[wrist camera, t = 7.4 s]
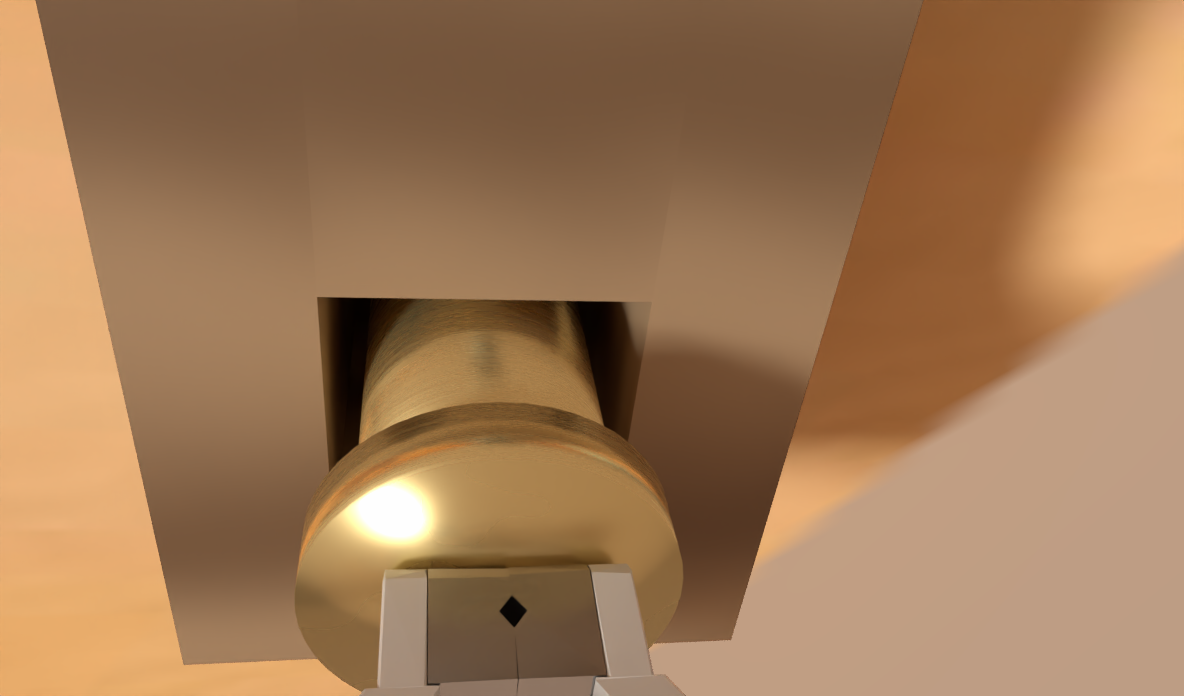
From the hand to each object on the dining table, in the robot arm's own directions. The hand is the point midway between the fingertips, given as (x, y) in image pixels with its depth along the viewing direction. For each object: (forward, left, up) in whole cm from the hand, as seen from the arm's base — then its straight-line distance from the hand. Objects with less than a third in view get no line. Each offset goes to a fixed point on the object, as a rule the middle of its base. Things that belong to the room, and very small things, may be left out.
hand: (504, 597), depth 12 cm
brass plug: (0, 0, -10) cm, 10 cm away
